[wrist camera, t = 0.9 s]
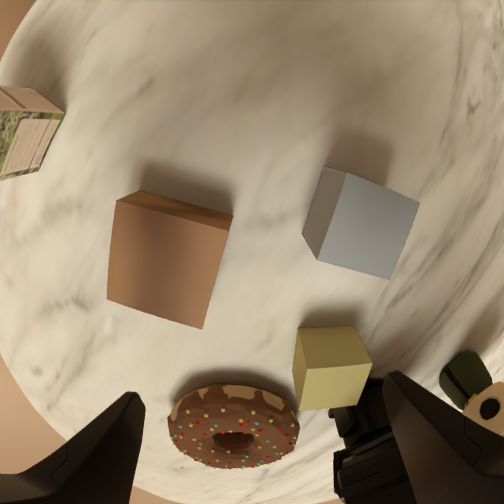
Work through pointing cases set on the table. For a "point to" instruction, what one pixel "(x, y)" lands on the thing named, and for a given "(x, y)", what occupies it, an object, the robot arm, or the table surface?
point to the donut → (233, 426)
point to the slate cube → (358, 223)
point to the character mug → (475, 391)
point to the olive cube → (329, 367)
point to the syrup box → (25, 130)
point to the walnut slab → (165, 256)
